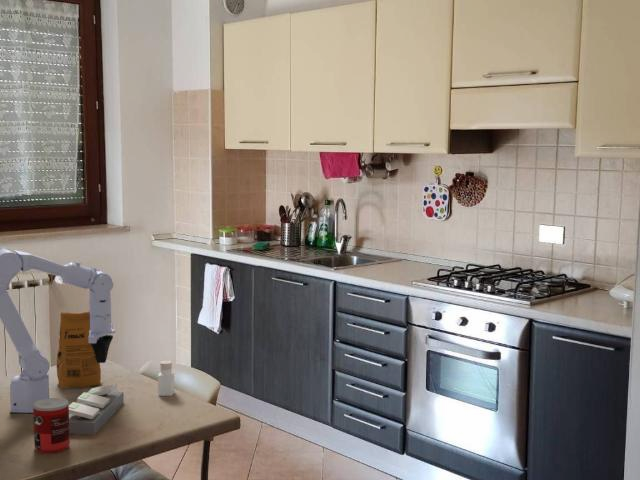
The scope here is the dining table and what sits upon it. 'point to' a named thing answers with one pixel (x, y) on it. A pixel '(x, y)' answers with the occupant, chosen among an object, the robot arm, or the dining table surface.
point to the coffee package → (76, 353)
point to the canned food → (51, 425)
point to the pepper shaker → (166, 379)
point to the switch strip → (97, 422)
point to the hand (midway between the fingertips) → (101, 362)
